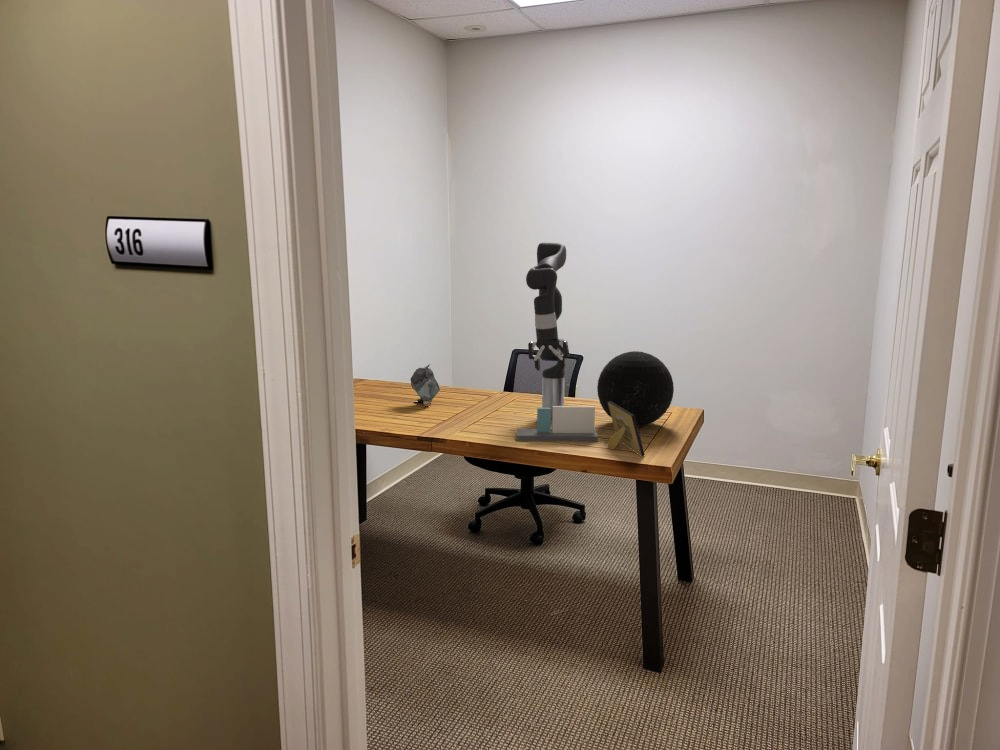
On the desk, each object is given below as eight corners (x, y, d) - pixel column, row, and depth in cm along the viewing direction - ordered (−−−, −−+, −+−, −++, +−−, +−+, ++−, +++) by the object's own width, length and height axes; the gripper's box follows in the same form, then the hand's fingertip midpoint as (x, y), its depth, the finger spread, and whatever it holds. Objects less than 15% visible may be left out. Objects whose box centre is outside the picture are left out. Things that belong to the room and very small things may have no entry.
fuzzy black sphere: (682, 422, 287) (686, 350, 282) (655, 439, 262) (659, 359, 257) (614, 413, 303) (616, 344, 298) (583, 428, 278) (585, 353, 273)
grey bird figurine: (405, 408, 312) (404, 368, 309) (414, 401, 327) (413, 363, 324) (436, 409, 310) (436, 369, 307) (444, 402, 325) (443, 363, 322)
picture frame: (645, 456, 240) (642, 413, 237) (620, 460, 239) (617, 418, 236) (620, 438, 262) (617, 399, 260) (597, 442, 261) (594, 403, 258)
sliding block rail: (516, 433, 269) (517, 403, 267) (595, 434, 268) (596, 403, 266) (516, 440, 259) (516, 409, 257) (598, 441, 259) (599, 409, 256)
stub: (537, 431, 264) (537, 407, 263) (550, 431, 264) (550, 407, 263) (537, 431, 263) (537, 408, 262) (550, 432, 263) (550, 408, 261)
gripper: (568, 322, 247) (571, 366, 251) (529, 323, 251) (533, 367, 256) (563, 327, 240) (567, 372, 244) (523, 328, 244) (528, 373, 249)
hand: (550, 369), depth 250 cm, fingers open, 8 cm apart
